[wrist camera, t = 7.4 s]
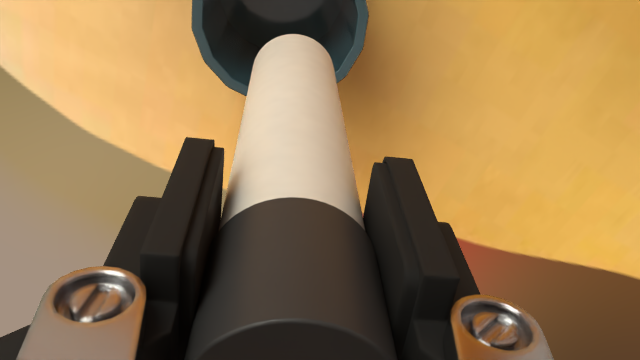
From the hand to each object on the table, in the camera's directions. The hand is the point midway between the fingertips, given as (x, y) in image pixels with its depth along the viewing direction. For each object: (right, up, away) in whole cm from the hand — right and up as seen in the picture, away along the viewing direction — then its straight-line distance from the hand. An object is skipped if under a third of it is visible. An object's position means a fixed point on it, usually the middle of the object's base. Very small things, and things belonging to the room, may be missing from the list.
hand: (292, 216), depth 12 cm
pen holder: (-2, +12, +22) cm, 25 cm away
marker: (0, +4, +8) cm, 9 cm away
